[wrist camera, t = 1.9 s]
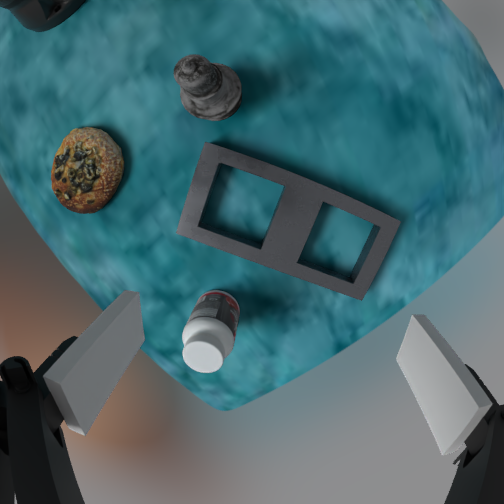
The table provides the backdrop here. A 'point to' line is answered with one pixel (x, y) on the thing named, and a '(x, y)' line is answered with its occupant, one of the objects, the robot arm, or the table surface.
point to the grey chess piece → (208, 88)
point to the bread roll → (87, 170)
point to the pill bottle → (210, 331)
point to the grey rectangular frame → (286, 223)
